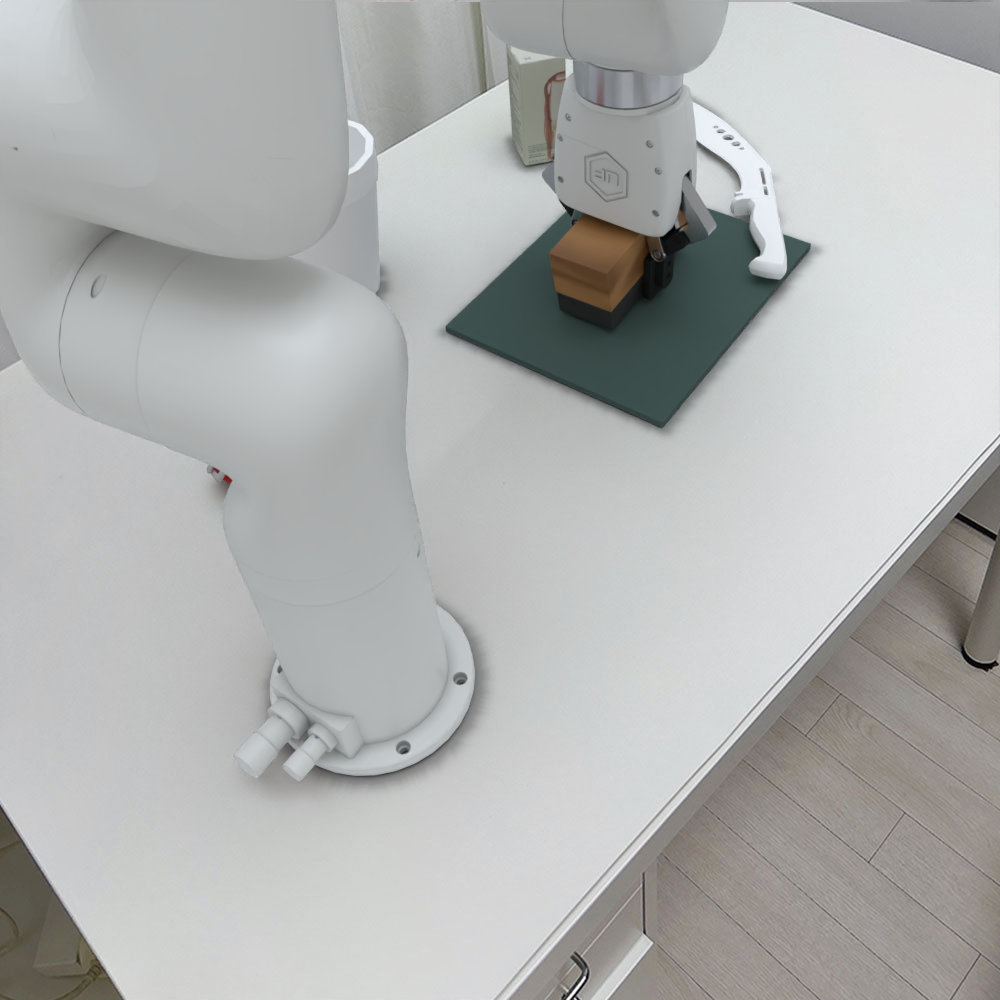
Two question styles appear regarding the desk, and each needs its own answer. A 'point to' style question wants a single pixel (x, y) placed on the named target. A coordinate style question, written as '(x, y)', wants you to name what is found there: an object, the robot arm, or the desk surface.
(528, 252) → the mat
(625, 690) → the desk surface
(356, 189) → the foam cup
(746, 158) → the knife
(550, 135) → the cream tall box
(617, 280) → the scrub brush
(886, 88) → the desk surface
